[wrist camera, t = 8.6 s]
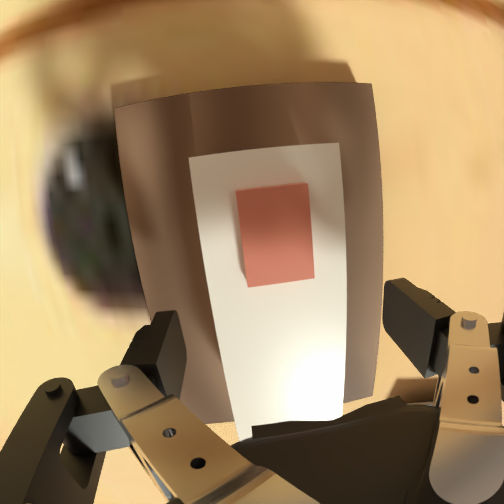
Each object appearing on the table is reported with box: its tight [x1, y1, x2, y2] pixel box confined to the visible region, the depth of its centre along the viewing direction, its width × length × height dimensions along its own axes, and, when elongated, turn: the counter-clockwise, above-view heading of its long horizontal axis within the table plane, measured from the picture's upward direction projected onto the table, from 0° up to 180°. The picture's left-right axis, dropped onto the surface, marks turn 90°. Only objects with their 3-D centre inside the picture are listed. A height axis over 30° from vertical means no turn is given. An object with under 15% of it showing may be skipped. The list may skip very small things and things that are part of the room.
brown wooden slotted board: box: [114, 82, 383, 424], centre depth 16 cm, size 12×18×2 cm, turn 6°
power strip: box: [189, 143, 347, 441], centre depth 13 cm, size 4×12×7 cm, turn 6°
